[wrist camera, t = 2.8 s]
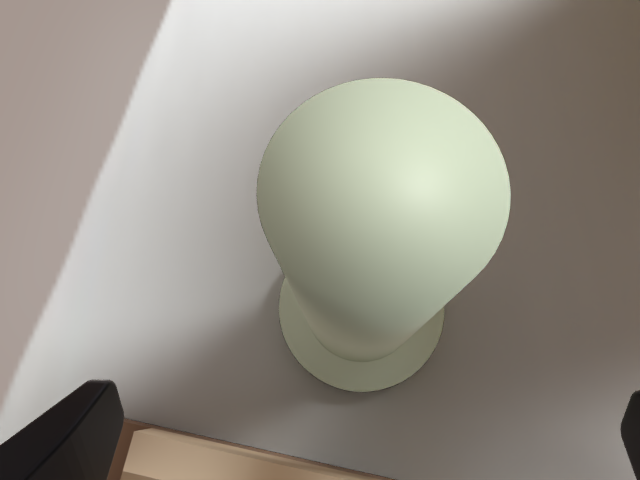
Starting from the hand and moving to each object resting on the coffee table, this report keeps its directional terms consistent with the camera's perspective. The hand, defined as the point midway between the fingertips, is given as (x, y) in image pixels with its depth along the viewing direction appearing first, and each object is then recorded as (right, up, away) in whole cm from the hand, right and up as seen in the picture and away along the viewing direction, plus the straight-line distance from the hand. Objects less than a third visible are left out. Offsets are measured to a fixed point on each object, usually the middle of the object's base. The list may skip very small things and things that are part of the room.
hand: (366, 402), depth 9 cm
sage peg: (+1, 0, +11) cm, 11 cm away
